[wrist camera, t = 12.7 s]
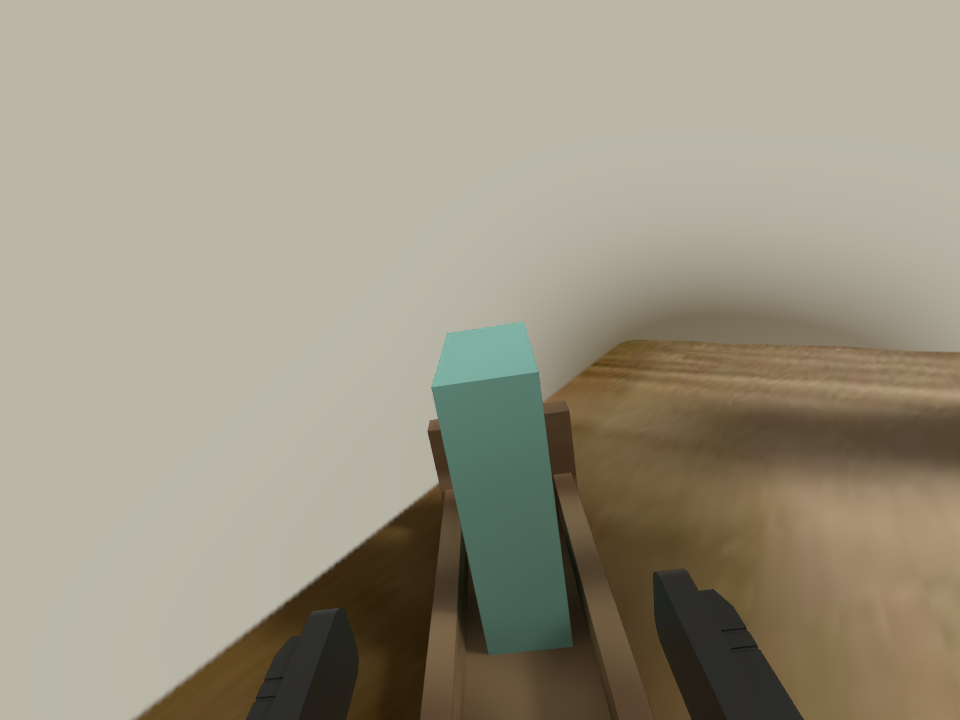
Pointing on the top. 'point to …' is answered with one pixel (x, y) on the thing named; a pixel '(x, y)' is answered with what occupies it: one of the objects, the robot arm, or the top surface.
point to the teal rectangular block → (503, 486)
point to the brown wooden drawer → (542, 673)
